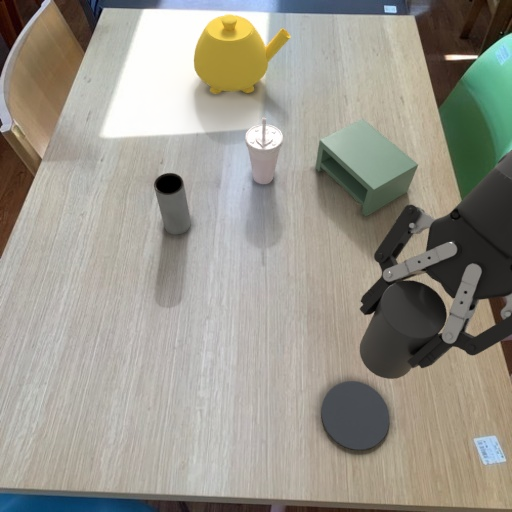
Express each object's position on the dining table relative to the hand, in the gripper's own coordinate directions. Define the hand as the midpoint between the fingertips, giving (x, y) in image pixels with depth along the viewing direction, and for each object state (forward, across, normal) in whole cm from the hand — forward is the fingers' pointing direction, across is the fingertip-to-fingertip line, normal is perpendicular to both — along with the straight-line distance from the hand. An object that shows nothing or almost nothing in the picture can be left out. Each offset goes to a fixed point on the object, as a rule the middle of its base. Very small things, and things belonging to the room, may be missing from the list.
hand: (388, 336), depth 43 cm
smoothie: (+7, +41, -28) cm, 50 cm away
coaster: (+17, -1, -18) cm, 24 cm away
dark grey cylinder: (+3, 0, -6) cm, 6 cm away
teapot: (-2, +67, -37) cm, 77 cm away
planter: (+20, +40, -15) cm, 47 cm away
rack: (-3, +30, -38) cm, 49 cm away
